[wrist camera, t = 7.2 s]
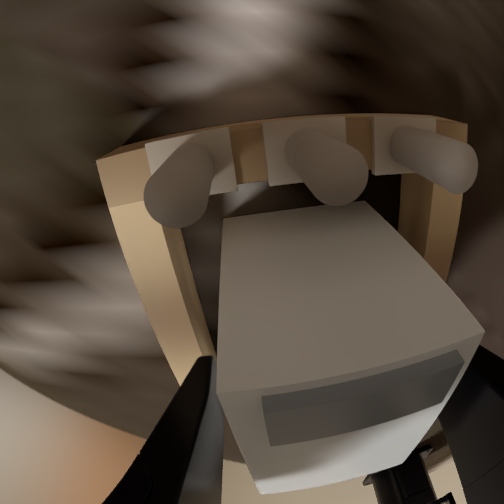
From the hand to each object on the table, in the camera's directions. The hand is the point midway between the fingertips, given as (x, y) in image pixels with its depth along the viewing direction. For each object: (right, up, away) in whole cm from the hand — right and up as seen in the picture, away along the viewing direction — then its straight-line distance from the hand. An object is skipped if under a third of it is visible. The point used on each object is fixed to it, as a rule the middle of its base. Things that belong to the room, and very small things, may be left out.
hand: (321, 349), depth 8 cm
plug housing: (0, +1, +3) cm, 3 cm away
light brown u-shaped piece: (0, +2, +2) cm, 3 cm away
